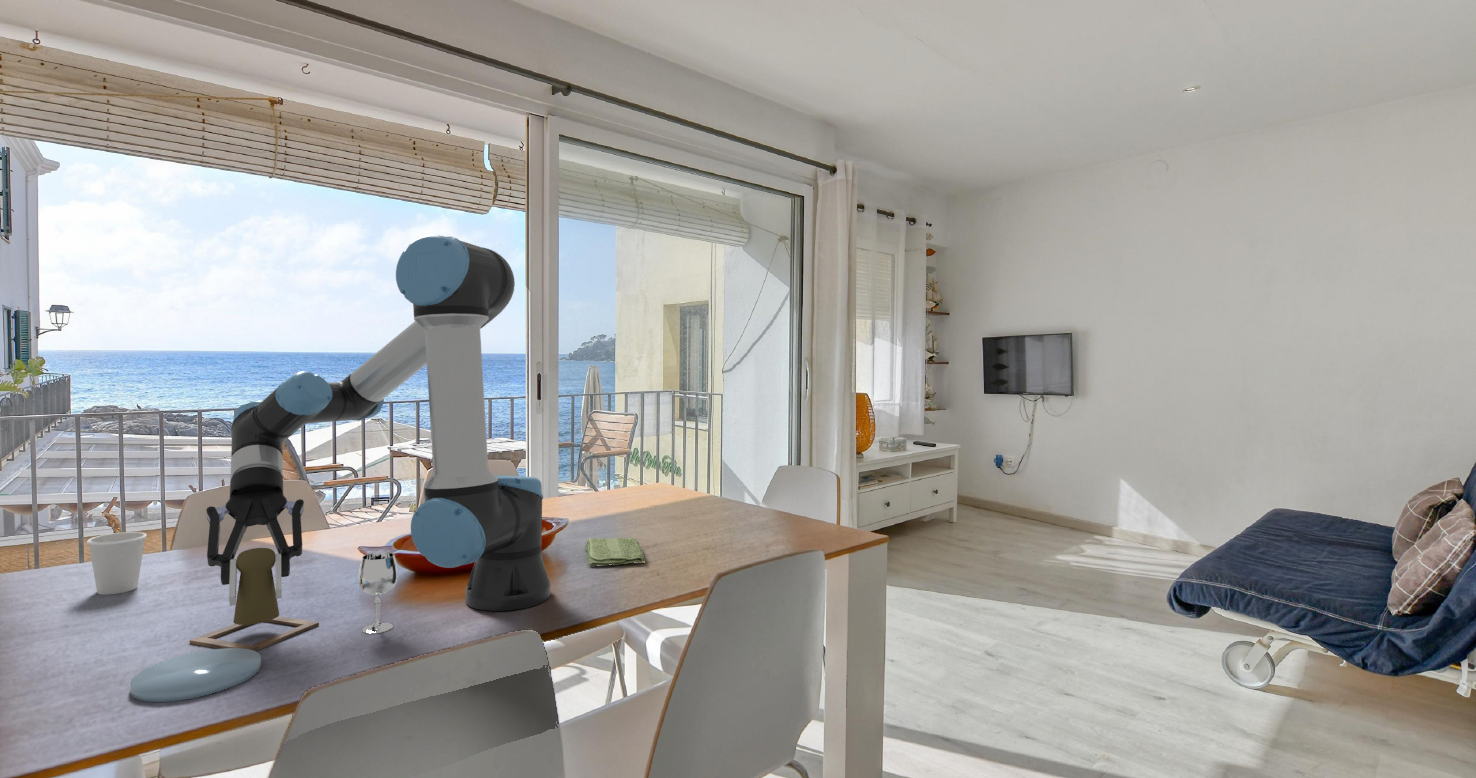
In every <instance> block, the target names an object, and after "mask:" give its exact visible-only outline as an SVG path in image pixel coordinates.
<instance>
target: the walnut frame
mask: <svg viewBox="0 0 1476 778" xmlns="http://www.w3.org/2000/svg"><path fill="white" fill-rule="evenodd" d="M265 623H272V624H280V625H284V624H286V625H285V626H291V625H293V626H292V627H294V628H292V629H288V630H287V631H283V632H282V633H279V634H276V635H274V636H271V637H268V638H265V639H263V640H261V641H259V642H256V643H253V644H246V643H239V642H234V641H233V642H232V641H227V640H222V639H217V638H218V637H221V636H223V635H224V636H225V635H227V634H230V633H233V632H235V631H238V630H241V629H243V628H246V627H249V626H251V625H253V624H250V625H238V624H235V623H233V624H230V625H228V626H226V627H223V628H220V629H217V630H215V631H211V632H209V633H206V634H205V633H204V634H203V635H201V636H198V637H194V638H192V639H189V644H191V645H197V646H202V647H209V648H214V649H225V648H242V649H249V650H253V651H256V652H258V651H260V650H262V649H264V648H268V647H270V646H272V645H274V644H277V643H279V642H282V641H284V640H286V639H290V638H291V636H292V637H294V636H296V634H297V635H299V634H302V633H304V632H306V631H309V630H312V629H314V628H316V627H318V625H319V626H320V622H319V621H312V620H305V619H299V618H292V617H286V616H285V617H284V616H280V615H279V616H278V617H277V618H275V619H272V620H269V621H266V622H265ZM297 626H298V627H297ZM301 632H302V633H301Z"/></svg>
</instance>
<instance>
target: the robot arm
mask: <svg viewBox="0 0 1476 778" xmlns="http://www.w3.org/2000/svg"><path fill="white" fill-rule="evenodd" d="M395 269H396V270H395V281H396V285H397V288H398V291H399V292H400V293H401V294H402V295H403V297H404V298H405V299H406V300H407V301H408V302H410V303H411V304H412V308H413V309H412V310H413V320H414V321H413V322H412V323H411V324H410V325H408V326H407V327H406V328H404V329H403V330H402V331H401V332H400V333H399V334H397V335H396V336H395V337H394V338H393V339H392V340H391V341H389V342H388V343H386V344H385V345H384V346H383V347H381V349H380V350H378V351H377V352H376V353H375V354H373V355H372V356H370V358H368V359H367V360H366V361H365V362H364V363H362V365H360V366H359V367H358V368H356V369H355V370H354V371H353V372H351V373H350V374H348V375H347V376H346V377H345V378H344V379H343V380H340V381H336V382H335V381H334V382H328V381H326V380H325V378H323V377H322V376H320V375H319V374H313V373H312V372H311V371H298V372H295V373H294V374H293V375H292V376H290V377H289V378H287V379H285V381H283V382H281V383H280V384H279V385H278V386H277V388H275V389H274V390H273V391H272V392H271V393H270V394H269V395H268V396H266V397H265V398H264V399H263V400H253V401H250V402H247V403H243V404H242V405H240V406H239V407H237V408H236V410H235V411H234V413H233V420H232V422H231V424H232V425H231V427H230V428H231V429H230V430H231V450H230V451H231V455H230V456H231V458H230V479H229V480H230V481H229V499H228V501H226V503H225V505H223V506H219V507H215V506H211V505H210V506H207V508H206V509H205V511H206V519H207V521H208V523H209V527H208V528H209V530H208V538H207V539H208V540H207V551H206V559H207V565H208V567H215V566H218V567H220V583H221V585H222V586H225V585H228V586H229V587H228V588H229V589H228V601H229V602H228V603H229V606H231V607H232V606H236V601H237V580H238V579H237V576H238V574H237V573H238V569H237V567H236V560H237V558H235V557H236V554H237V552H238V550H239V547H240V544H241V542H242V539H243V538H244V534H245V533H246V532H247V528H249V527H254V526H257V525H259V526H266V527H267V530H268V531H269V533H270V536H271V538H272V541H273V544H274V546H275V548H276V551H277V553H275V560H276V561H275V591H276V599H277V600H278V599H282V596H283V595H282V586H283V585H282V578H286V577H289V576H290V575H291V564H290V563H291V561H290V560H291V559H292V558H294V557H300V556H302V554H303V536H302V535H303V534H302V533H303V532H302V531H303V530H302V518H301V517H302V515H303V512H304V509H305V508H304V507H305V502H304V499H297V500H296V501H294V500H293V501H292V500H287V497H286V496H285V495H284V477H283V475H284V463H283V462H284V457H283V455H284V454H283V453H284V452H283V450H284V449H283V445H284V442H285V441H287V439H289V438H290V437H292V436H293V435H294V434H296V432H298V431H299V430H300V429H301V428H302V427H303V426H305V425H308V424H318V423H331V422H342V421H344V422H345V421H363V420H365V419H370V418H374V417H375V416H377V415H378V414H379V413H380V412H381V411H382V407H383V406H384V402H385V398H386V397H388V396H389V395H390V394H391V393H393V392H394V391H395V390H397V389H398V388H399V387H401V385H403V384H404V383H405V382H407V381H408V380H409V379H411V378H412V377H413V376H414V375H415V374H417V373H418V372H419V371H420V370H422V369H424V367H426V370H427V371H426V373H427V389H428V406H429V421H430V436H431V437H430V439H431V456H432V476H431V477H430V478H429V479H428V480H426V482H425V483H424V484H423V491H424V492H423V493H424V502H423V503H420V505H419V506H418V507H417V508H416V511H415V512H414V513H413V515H412V516H411V520H410V534H411V539H412V542H413V545H414V546H415V548H416V549H417V551H418V552H419V554H420V555H421V556H423V557H424V558H425V559H426V560H427V561H428V562H429V563H431V564H433V565H435V566H437V567H440V568H447V569H448V568H449V569H451V568H457V567H460V566H465V565H469V564H472V563H474V564H473V567H472V570H471V573H470V575H469V577H468V578H469V579H468V580H467V585H466V587H465V604H466V605H467V606H469V607H471V608H473V609H477V610H481V611H489V612H491V611H492V612H500V611H501V612H504V611H514V610H522V609H526V608H531V607H533V606H537V605H540V604H542V603H544V602H545V601H547V600H548V599H549V598H550V597H551V582H550V579H549V575H548V572H547V569H546V566H545V563H544V560H543V557H542V539H543V538H542V537H543V536H542V533H543V532H542V531H543V529H542V528H543V526H542V524H543V499H544V495H543V485H542V482H541V480H540V479H539V478H537V477H534V476H522V475H502V474H501V475H500V474H499V475H498V474H497V475H495V474H494V473H493V472H492V471H490V469H489V459H488V444H487V443H488V441H487V425H486V424H487V423H486V411H485V409H486V407H485V392H484V391H485V390H484V373H483V357H482V356H483V355H482V340H481V329H482V328H484V327H486V325H488V324H489V323H490V322H492V321H493V320H494V319H495V318H497V316H498V315H500V314H501V313H502V312H503V311H504V310H505V308H506V307H507V306H508V305H509V303H510V301H511V299H512V298H513V295H514V292H515V286H516V285H515V284H516V282H515V276H514V273H513V272H514V271H513V269H512V267H511V266H510V264H509V262H508V261H507V260H506V258H504V257H503V256H502V255H501V254H499V253H498V252H496V251H495V250H493V249H489V248H486V247H481V246H478V245H476V244H473V243H469V242H467V241H463V240H459V238H456V237H454V236H445V235H439V234H428V235H427V234H426V235H424V236H420V237H418V238H417V239H415V240H413V241H412V242H410V244H408V247H406V249H405V250H403V251H402V252H401V255H400V257H399V258H398V261H397V264H396V268H395ZM285 509H286V510H287V513H288V515H290V516H291V529H292V533H291V534H292V545H288V542H287V540H286V537H285V535H284V533H283V530H282V527H281V525H280V522H279V520H278V517H279V515H281V513H282V512H283V511H284V510H285ZM226 514H228V515H229V516H230V517H231V518H232V519H233V520H235V522H234V526H233V528H232V530H231V532H230V536H229V537H228V541H227V543H226V544H225V547H224V550H223V552H222V553H221V554H220V553H219V550H220V549H219V547H220V539H221V538H220V537H221V536H220V535H221V523H222V522H223V520H224V519H225V516H226Z"/></svg>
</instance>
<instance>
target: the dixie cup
mask: <svg viewBox="0 0 1476 778" xmlns="http://www.w3.org/2000/svg"><path fill="white" fill-rule="evenodd" d="M147 536H148V534H147V533H146V532H142V531H127V532H125V531H124V532H113V533H105V534H103V535H102V534H101V535H97V536H94V537H90V538H89V539H88V540H87V541H86V543H87V545H88V547H89V554H90V559H91V564H92V570H93V577H94V582H95V587H96V593H97V594H98V595H100V596H101V595H102V596H103V595H106V596H108V595H117V594H124V593H127V592H131V591H134V590H136V589H137V588H138V585H139V580H140V574H141V567H142V560H143V553H144V547H145V540H146V537H147Z"/></svg>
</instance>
